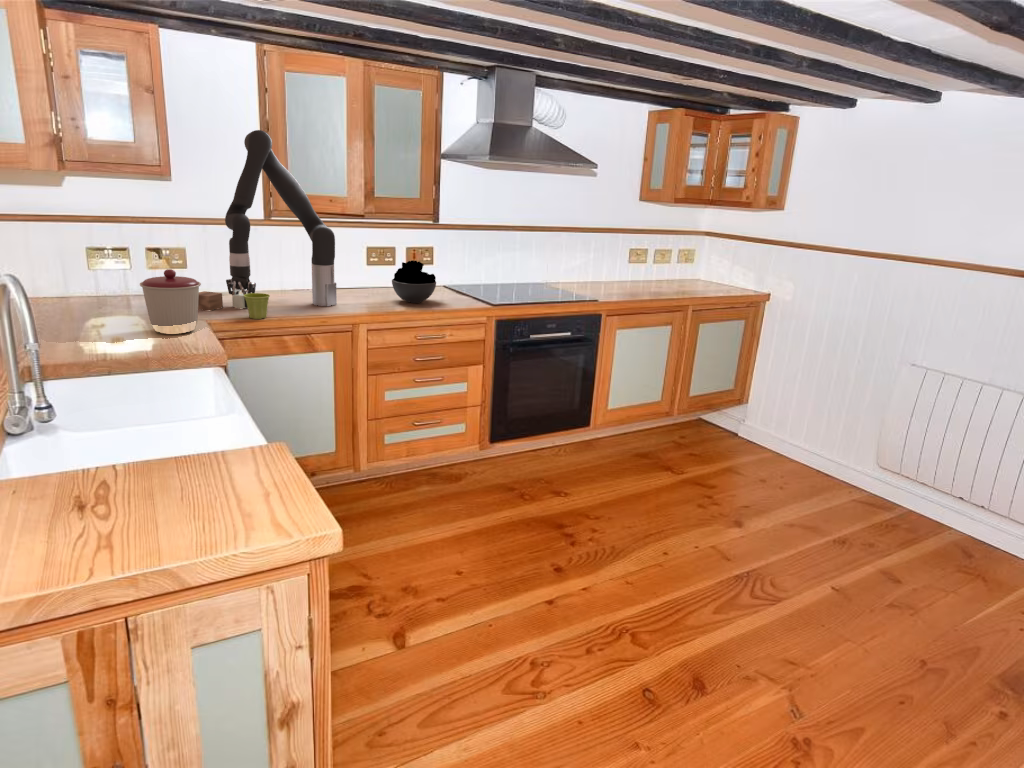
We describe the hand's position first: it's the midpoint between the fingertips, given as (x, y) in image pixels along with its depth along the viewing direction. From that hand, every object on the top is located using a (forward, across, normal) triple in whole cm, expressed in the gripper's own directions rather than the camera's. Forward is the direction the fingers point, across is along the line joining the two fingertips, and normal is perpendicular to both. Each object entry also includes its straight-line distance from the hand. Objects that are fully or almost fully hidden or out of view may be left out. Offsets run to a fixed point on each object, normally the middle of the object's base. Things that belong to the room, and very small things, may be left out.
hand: (242, 306), depth 264 cm
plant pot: (+1, -18, +10) cm, 21 cm away
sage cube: (0, 0, 0) cm, 0 cm away
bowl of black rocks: (+1, -45, -58) cm, 73 cm away
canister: (+1, -14, +44) cm, 46 cm away
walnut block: (+1, +8, +10) cm, 13 cm away
